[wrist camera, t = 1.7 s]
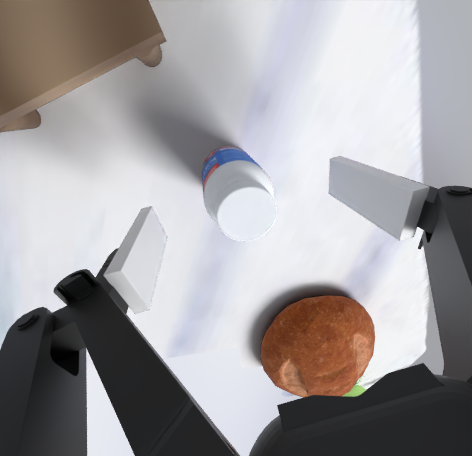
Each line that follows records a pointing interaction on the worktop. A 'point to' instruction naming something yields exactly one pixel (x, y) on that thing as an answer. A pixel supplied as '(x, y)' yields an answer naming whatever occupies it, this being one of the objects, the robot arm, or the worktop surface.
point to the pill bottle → (238, 194)
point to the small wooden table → (67, 49)
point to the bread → (318, 346)
